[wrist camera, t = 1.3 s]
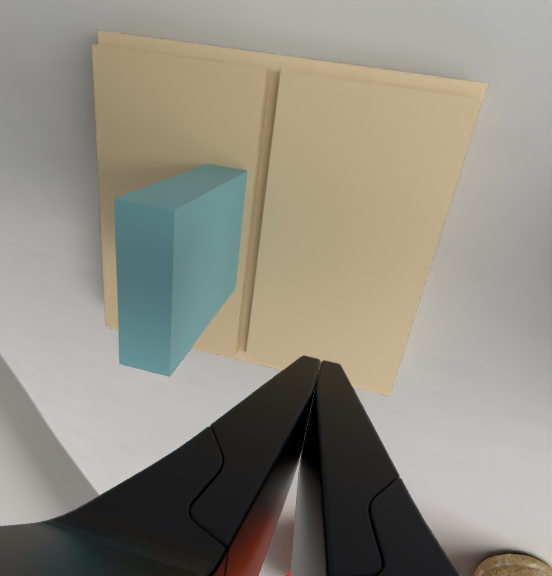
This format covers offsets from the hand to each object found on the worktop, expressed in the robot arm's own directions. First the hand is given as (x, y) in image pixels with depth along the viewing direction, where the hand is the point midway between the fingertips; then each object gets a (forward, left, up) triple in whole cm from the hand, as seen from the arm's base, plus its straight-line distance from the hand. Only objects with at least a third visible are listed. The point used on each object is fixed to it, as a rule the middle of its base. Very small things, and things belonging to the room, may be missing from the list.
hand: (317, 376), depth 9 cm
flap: (+7, 0, -9) cm, 11 cm away
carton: (+4, 0, -10) cm, 11 cm away
